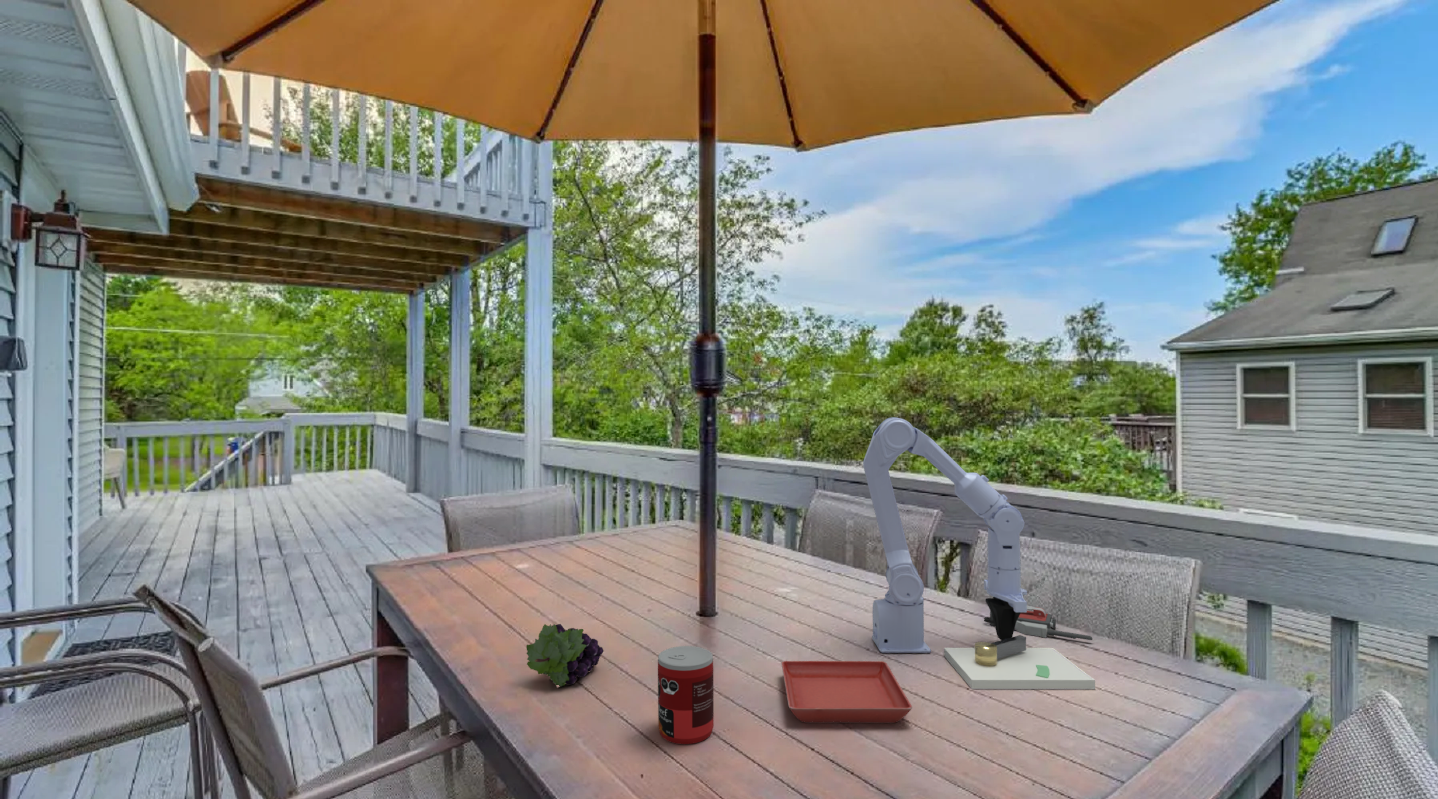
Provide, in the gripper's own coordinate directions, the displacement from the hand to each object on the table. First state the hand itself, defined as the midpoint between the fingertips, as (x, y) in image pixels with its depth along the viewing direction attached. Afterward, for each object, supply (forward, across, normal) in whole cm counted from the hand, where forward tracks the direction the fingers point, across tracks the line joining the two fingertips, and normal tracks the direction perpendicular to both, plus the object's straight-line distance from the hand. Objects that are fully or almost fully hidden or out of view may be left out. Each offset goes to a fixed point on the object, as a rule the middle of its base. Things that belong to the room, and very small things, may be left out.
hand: (1004, 638), depth 123 cm
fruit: (+3, -12, +80) cm, 81 cm away
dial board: (+2, -9, +2) cm, 10 cm away
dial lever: (+1, -7, +3) cm, 8 cm away
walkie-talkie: (+3, +12, -12) cm, 17 cm away
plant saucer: (+3, -20, +34) cm, 40 cm away
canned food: (+3, -30, +58) cm, 65 cm away
